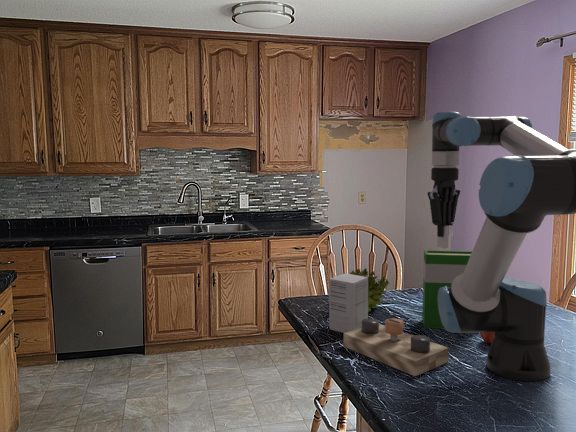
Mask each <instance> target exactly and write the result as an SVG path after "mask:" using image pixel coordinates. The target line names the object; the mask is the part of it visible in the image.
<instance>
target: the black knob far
mask: <svg viewBox="0 0 576 432" xmlns="http://www.w3.org/2000/svg"><path fill="white" fill-rule="evenodd" d="M379 324H380V321H379V320H378V319H376V318H368V319H363V320H362V332H363V333H366V334H377V333H378V332H379Z"/></svg>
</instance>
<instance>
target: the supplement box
mask: <svg viewBox="0 0 576 432" xmlns="http://www.w3.org/2000/svg"><path fill="white" fill-rule="evenodd" d="M368 277H369V276H367V277H364V275H363V276H358V275H352V274H349V273H347V272H346V273H341V274H340V275H337V276H334V277H331V278H329V280H328V284H329V285H328V291H329V293H328V295H329V296H328V297H329V299H328V300H329V301H328V302H329V303H328V305H329V306H328V308H329V309H328V310H329V311H328V313H329V314H328V315H329V321H328V322H329V324H328V325H329V330H331V331H334V332H335V331H336V332H339V333H343V334H344V333H346V332H349V331H352V330H356V329H359V328H362V320H363V319H369V312H368Z"/></svg>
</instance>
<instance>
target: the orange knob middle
mask: <svg viewBox="0 0 576 432" xmlns="http://www.w3.org/2000/svg"><path fill="white" fill-rule="evenodd" d="M384 321H385V322H384V326H385V332H386V333H388V334H390V342H393V343H396V342H398V335H400V334H402V333H403V332H404V320H402V319H399V318H392V317H391V318H387V319H385V320H384Z"/></svg>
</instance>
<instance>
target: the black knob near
mask: <svg viewBox="0 0 576 432" xmlns="http://www.w3.org/2000/svg"><path fill="white" fill-rule="evenodd" d="M430 342H431V338H430V337H429V336H426V335H420V334H419V335H418V334H416V335H413V336H412V337H411V350H412V351H414V352H417V353H427V352H429V351H430Z"/></svg>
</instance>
